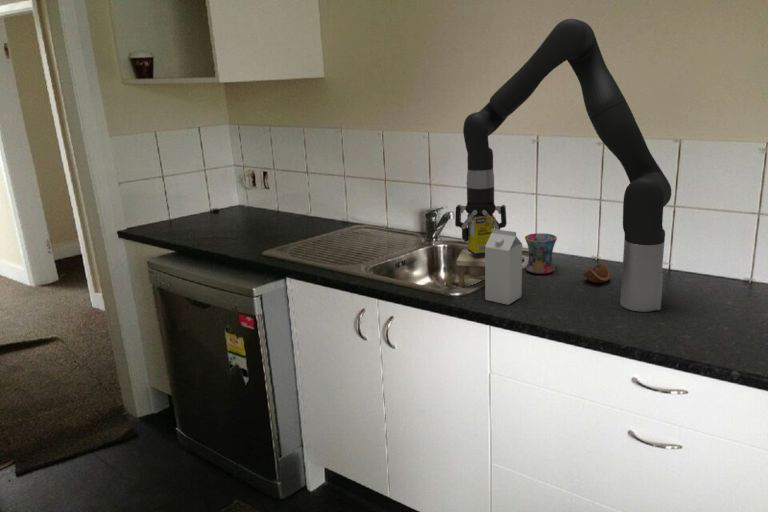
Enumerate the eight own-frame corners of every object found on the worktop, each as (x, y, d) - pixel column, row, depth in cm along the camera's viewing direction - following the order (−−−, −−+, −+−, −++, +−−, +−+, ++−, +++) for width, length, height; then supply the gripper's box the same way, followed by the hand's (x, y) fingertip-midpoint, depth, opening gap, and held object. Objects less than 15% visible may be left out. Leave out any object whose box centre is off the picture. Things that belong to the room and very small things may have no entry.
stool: (503, 275, 191) (503, 249, 188) (499, 289, 180) (499, 262, 177) (463, 274, 194) (462, 248, 192) (456, 287, 183) (456, 260, 181)
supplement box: (495, 253, 182) (495, 216, 179) (475, 256, 181) (474, 218, 178) (486, 248, 188) (486, 211, 184) (467, 250, 186) (466, 214, 183)
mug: (545, 278, 187) (546, 243, 184) (518, 272, 194) (518, 238, 190) (566, 268, 195) (568, 234, 192) (540, 262, 201) (541, 229, 198)
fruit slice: (598, 288, 177) (599, 271, 175) (577, 283, 182) (577, 266, 180) (614, 281, 182) (615, 264, 181) (593, 276, 187) (593, 259, 186)
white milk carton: (498, 292, 178) (498, 225, 172) (521, 297, 173) (522, 229, 168) (485, 300, 172) (484, 231, 167) (508, 305, 168) (509, 235, 162)
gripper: (507, 182, 180) (507, 238, 185) (457, 182, 184) (458, 237, 189) (505, 187, 173) (504, 245, 178) (452, 187, 177) (453, 244, 182)
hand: (480, 241), depth 183 cm, fingers closed on supplement box, 8 cm apart
